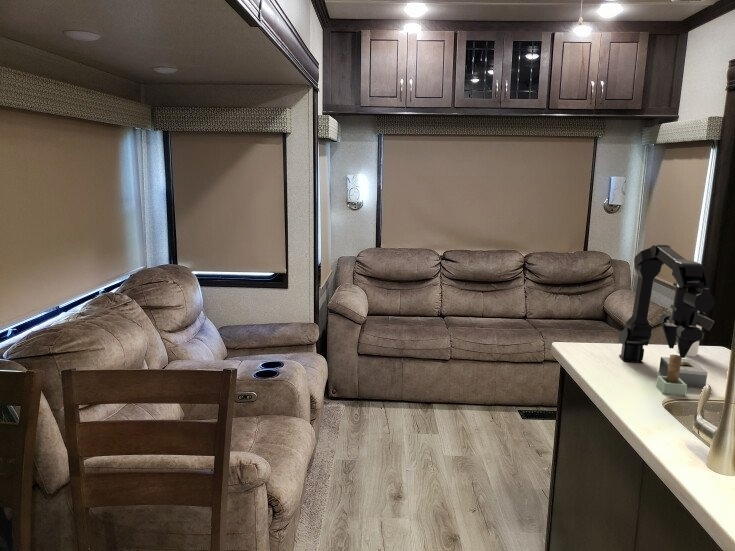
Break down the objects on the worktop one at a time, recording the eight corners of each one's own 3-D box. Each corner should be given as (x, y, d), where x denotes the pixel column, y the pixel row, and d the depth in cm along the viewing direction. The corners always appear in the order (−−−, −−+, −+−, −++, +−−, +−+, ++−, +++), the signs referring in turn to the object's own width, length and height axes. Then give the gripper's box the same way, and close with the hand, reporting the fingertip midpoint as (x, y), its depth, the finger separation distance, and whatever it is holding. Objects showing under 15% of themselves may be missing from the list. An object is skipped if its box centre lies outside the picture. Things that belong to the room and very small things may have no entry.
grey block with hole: (671, 385, 181) (674, 369, 180) (658, 372, 192) (660, 356, 191) (704, 388, 179) (707, 372, 178) (689, 374, 191) (692, 359, 190)
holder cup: (663, 393, 174) (664, 383, 173) (656, 386, 180) (657, 375, 179) (685, 396, 173) (687, 385, 172) (677, 388, 179) (679, 377, 178)
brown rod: (667, 391, 175) (672, 357, 173) (663, 387, 178) (668, 354, 176) (678, 392, 174) (683, 358, 172) (674, 388, 178) (679, 355, 175)
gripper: (727, 313, 160) (718, 365, 163) (699, 298, 179) (692, 345, 182) (685, 310, 162) (677, 362, 165) (662, 296, 180) (655, 342, 183)
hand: (676, 352), depth 174 cm, fingers open, 9 cm apart
